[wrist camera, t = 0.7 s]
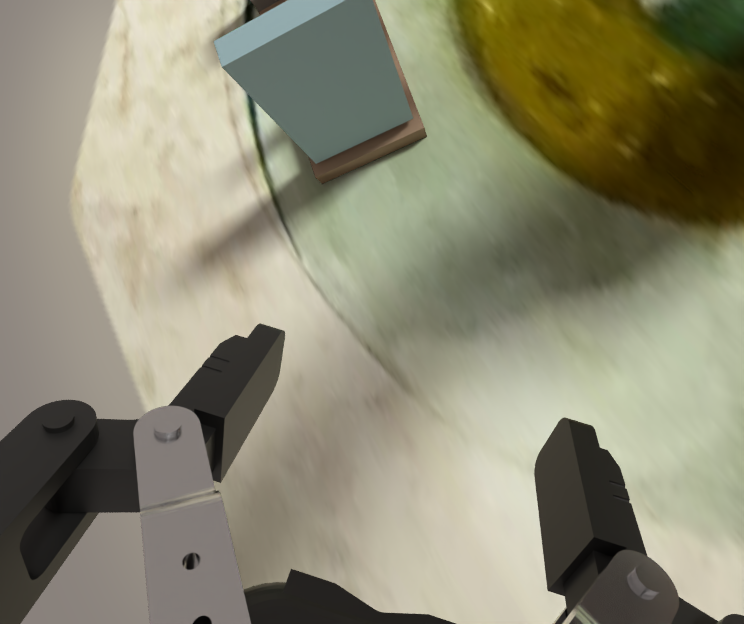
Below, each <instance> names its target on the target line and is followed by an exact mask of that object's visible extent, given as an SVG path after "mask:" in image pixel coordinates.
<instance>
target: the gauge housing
mask: <svg viewBox="0 0 744 624" xmlns="http://www.w3.org/2000/svg"><path fill="white" fill-rule="evenodd" d="M285 1H287V0H251V2H252V3H253V5H254V6H255V7H256V9H257V10H258V12H259V14H260V15H262V14H264V13H266V12H267V11H269V10H271V9H273V8H275V7H276V6H278V5H280V4H282V3H284V2H285ZM373 2H374V5H375V8H376V11H377V14H378V17H379V20H380V23H381V26H382V29H383V31H384V34H385V37H386V40H387V43H388V46H389V49H390V52H391V55H392V58H393V61H394V63H395V66H396V69H397V72H398V75H399V78H400V81H401V84H402V87H403V90H404V93H405V96H406V98H407V101H408V104H409V107H410V110H411V113H412V116H413V119H411V120H409V121H407V122H405V123H403V124H401V125H398V126H396V127H394V128H392V129H390V130H388V131H386V132H383V133H381V134H379V135H377V136H375V137H373V138H371V139H368V140H366V141H364V142H362V143H360V144H358V145H356V146H353V147H351V148H349V149H347V150H345V151H343V152H341V153H338V154H336V155H334V156H332V157H330V158H328V159H325V160H323V161H321V162H319V163H317V164H316V163H315V162H314V161H313V160H312V159H311V158H310V157H309V156H308V157H309V160H310V163H311V166H312V169H313V172H314V175H315V177H316V179H318V180H319V181H320V182H321V183H322V184H323V183H325V182H328V181H330V180H332V179H334V178H336V177H339V176H341V175H343V174H345V173H347V172H350V171H352V170H354V169H356V168H358V167H361V166H363V165H365V164H367V163H369V162H372V161H374V160H376V159H378V158H380V157H383V156H385V155H387V154H389V153H391V152H394V151H396V150H398V149H400V148H402V147H405V146H407V145H409V144H411V143H413V142H416V141H418V140H420V139H422V138H424V137H427V135H426V132H425V128H424V126H423V123H422V121H421V118H420V115H419V113H418V110H417V108H416V105H415V102H414V100H413V97H412V95H411V92H410V90H409V87H408V84H407V82H406V79H405V77H404V74H403V72H402V69H401V66H400V64H399V61H398V59H397V56H396V53H395V51H394V48H393V46H392V43H391V41H390V38H389V35H388V33H387V30H386V28H385V25H384V22H383V20H382V17H381V15H380V12H379V10H378V7H377V4H376V2H375V0H373Z"/></svg>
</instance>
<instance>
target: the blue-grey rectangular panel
mask: <svg viewBox="0 0 744 624" xmlns="http://www.w3.org/2000/svg"><path fill="white" fill-rule="evenodd" d="M214 44H215V47H216V50H217V53H218V56H219V60H220V63H221V66H222V68H223V69H224V70H225V71H226V72H227V73H228V74H229V75H230V76H231V77H232V78H233V79H234V80H235V81H236V82H237V83H238V84H239V85H240V86H241V87H242V88H243V89H244V90H245V91H246V92H247V93H248V94H249V95H250V96H251V98H252V99H253V100H254V101H255V102H256V103H257V104H258V105H259V106H260V107H261V108H262V109H263V110H264V111H265V112H266V113H267V114H268V115H269V116H270V117H271V118H272V119H273V120H274V121H275V122H276V123H277V124H278V125H279V126H280V127H281V128H282V129H283V130H284V132H285V133H286V134H287V135H288V136H289V137H290V138H291V139H292V140H293V141H294V142H295V143H296V144H297V145H298V146H299V147H300V148H301V149H302V150H303V151H304V152H305V153H306V154H307V155H308V156H309V157H310V158H311V159H312V160H313V161H314V162H315V163H316V164H317V163H319V162H321V161H323V160H325V159H328V158H330V157H332V156H334V155H336V154H338V153H341V152H343V151H345V150H347V149H349V148H351V147H353V146H356V145H358V144H360V143H362V142H364V141H366V140H368V139H371V138H373V137H375V136H377V135H379V134H381V133H383V132H386V131H388V130H390V129H392V128H394V127H396V126H398V125H401V124H403V123H405V122H407V121H409V120H411V119H413V116H412V113H411V110H410V107H409V104H408V101H407V98H406V96H405V93H404V90H403V87H402V84H401V81H400V78H399V75H398V72H397V69H396V66H395V63H394V61H393V58H392V55H391V52H390V49H389V46H388V43H387V40H386V37H385V34H384V31H383V29H382V26H381V23H380V20H379V17H378V14H377V11H376V8H375V5H374V2H373V0H287V1H285V2H284V3H282V4H280V5H278V6H276V7H275V8H273V9H271V10H269V11H267V12H266V13H264V14H262V15H260V16H258V17H257V18H255V19H253V20H251V21H249V22H248V23H246V24H244V25H242V26H240V27H239V28H237V29H235V30H233V31H231V32H230V33H228V34H226V35H224V36H222V37H221V38H219V39H217V40H215V41H214Z"/></svg>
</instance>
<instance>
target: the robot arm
mask: <svg viewBox="0 0 744 624" xmlns="http://www.w3.org/2000/svg"><path fill="white" fill-rule="evenodd" d="M284 340H285V331H283V330H280V329H276V328H273V327H270V326H267V325H263V324H258V325H257V326H256V327H255V329H254V330H253V331H252V333H251V334H250V335H249V337H248V338H244V337H241V336H238V335H235V336H233V337H231V338H229V339H227V340H225V341H224V342H222V343H220V344H219V345H218V347H217V348H216V349H215V350H214V351H213V353H212V354H211V355H210V358H208V359H207V360H206V361H205V362H204V364H203V365H202V367H201V368H199V370H198V371H197V372H196V373H195V374H194V376H193V377H192V378H191V379H190V380H189V382H188V383H187V384H186V385H185V386H184V388H183V389H182V390H181V391H180V393H179V394H178V395H177V396H176V397H175V399H174V400H173V401H172V402H171V403H170V404H169V405H168V406H163V407H159V408H156V409H153V410H151V411H149V412H147V413H146V414H144V415H143V416H142V417H141V418H140V419H136V420H114V419H112V420H111V419H97V417H96V413H95V411H94V409H93V408H92V407H91V406H89V405H88V404H86V403H84V402H81V401H76V400H61V401H55V402H51V403H49V404H46V405H43V406H41V407H39V408H37V409H36V410H34V411H33V412H31V413H30V414H29V415H28V416H27V417H26V418H25V419H23V420H22V422H20V423H19V424H18V425H17V426H16V427H15V428H14V429H13V430H12V431H11V432H10V433H9V434H8V435H7V436H6V437H5V438H3V439H2V440H1V441H0V624H20V623H21V622H22V621H23V619H24V618H25V616H26V615H27V614H28V612H29V611H30V609H31V608H32V606H33V605H34V604H35V602H36V601H37V599H38V598H39V597H40V595H41V594H42V592H43V591H44V590H45V588H46V587H47V585H48V584H49V582H50V581H51V580H52V578H53V577H54V575H55V574H56V573H57V571H58V570H59V568H60V567H61V565H62V564H63V563H64V561H65V560H66V558H67V557H68V556H69V554H70V553H71V551H72V550H73V549H74V547H75V546H76V544H77V543H78V542H79V540H80V539H81V537H82V536H83V534H84V533H85V531H86V530H87V529H88V527H89V526H90V525H91V523H92V522H93V520H94V519H95V518H96V516H97V515H98V513H99V512H140V515H141V528H142V538H143V551H144V561H145V573H146V585H147V596H148V607H149V618H150V624H455V623H452V622H449V621H446V620H443V619H440V618H437V617H434V616H431V615H428V614H403V613H383V612H379V611H376V610H375V609H373V608H372V607H370V606H369V605H367V604H366V603H364V602H362V601H361V600H359V599H358V598H356V597H355V596H353V595H352V594H350V593H349V592H347V591H346V590H344V589H343V588H341V587H340V586H338V585H337V584H335V583H332V582H329V581H326V580H323V579H320V578H317V577H314V576H311V575H308V574H305V573H302V572H299V571H296V570H293V569H291V571H290V573H289V576H288V579H287V582H286V583H283V582H275V583H265V584H261V585H256V586H253V587H250V588H247V589H245V590H243V587H242V582H241V578H240V574H239V569H238V565H237V561H236V556H235V552H234V548H233V543H232V539H231V535H230V530H229V526H228V522H227V518H226V513H225V509H224V505H223V501H222V497H221V494H220V492H219V491H216V490H215V487H214V483H213V480H214V481H217V482H220V483H221V481H222V480H223V478H224V476H225V474H226V473H227V471H228V469H229V467H230V466H231V464H232V462H233V460H234V459H235V457H236V455H237V453H238V452H239V450H240V448H241V446H242V445H243V443H244V441H245V439H246V438H247V436H248V434H249V433H250V431H251V429H252V427H253V426H254V424H255V422H256V420H257V419H258V417H259V415H260V413H261V412H262V410H263V408H264V406H265V405H266V403H267V401H268V399H269V398H270V396H271V394H272V392H273V390H274V388H275V386H276V383H277V380H278V377H279V373H280V367H281V360H282V353H283V347H284ZM534 474H535V484H536V493H537V501H538V510H539V519H540V527H541V536H542V545H543V554H544V562H545V571H546V580H547V589H548V591H550V592H553V593H556V594H559V595H563V596H565V600H566V608H565V609H564V610H563V611H562V612H561V613H560V615H559V616H558V617H557V619H556V620H555V621H554V623H553V624H744V616H742V615H738V614H730V615H728V616H726V617H724V618H723V619H722V620H720V621H719V622H718V621H717V620H715V619H713V618H712V617H710V616H709V615H707V614H705V613H704V612H702V611H700V610H699V609H697V608H696V607H694V606H692V605H691V604H689V603H687V602H686V601H684V600H683V599H681V598H680V597H679V596H678V593H677V590H676V588H675V586H674V584H673V582H672V580H671V579H670V577H669V576H668V575H667V573H666V572H665V571H664V570H663V569H662V568H661V567H660V566H659V565H658V564H657V563H656V562H654V561H653V560H652V559H651V558H649V557H647V554H646V550H645V547H644V544H643V541H642V537H641V534H640V531H639V528H638V524H637V521H636V518H635V515H634V512H633V508H632V505H631V503H629V500H630V499H629V495H628V492H627V489H625V482H624V479H623V476H622V473H621V470H620V467H619V466H618V464H617V463H616V461H615V460H614V459H613V457H612V456H611V454H610V453H609V451H608V450H605V449H602V448H600V447H599V443H598V439H597V436H596V432H595V429H594V428H593V426H591V425H588V424H584V423H581V422H578V421H575V420H571V419H568V418H562V419H561V420H560V421H559V422H558V424H557V426H556V427H555V429H554V430H553V432H552V433H551V435H550V437H549V438H548V440H547V441H546V443H545V445H544V446H543V448H542V449H541V451H540V453H539V455H538V457H537V460H536V464H535V473H534Z"/></svg>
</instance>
